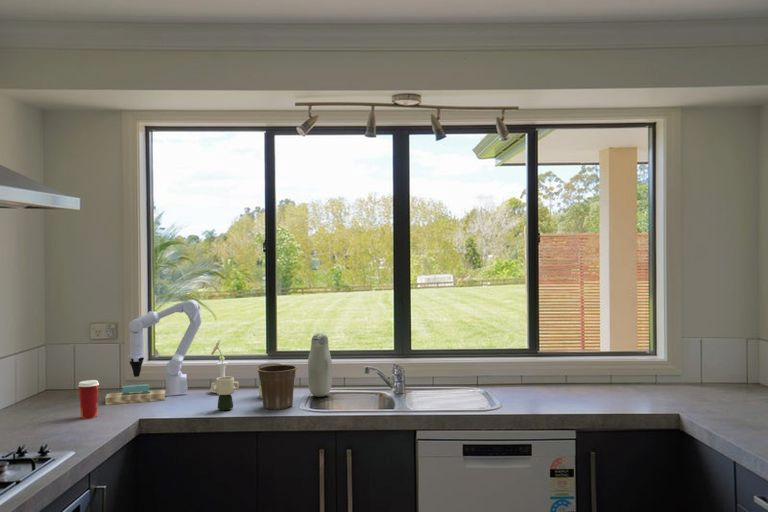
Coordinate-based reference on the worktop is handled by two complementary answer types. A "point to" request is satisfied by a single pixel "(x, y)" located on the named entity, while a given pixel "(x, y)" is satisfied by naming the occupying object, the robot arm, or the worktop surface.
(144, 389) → the staple
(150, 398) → the tan segmented bar
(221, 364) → the flower in vase
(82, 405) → the paper cup
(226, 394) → the character mug
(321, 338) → the white tall rounded figure
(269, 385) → the plant pot
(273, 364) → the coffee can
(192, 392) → the worktop surface
